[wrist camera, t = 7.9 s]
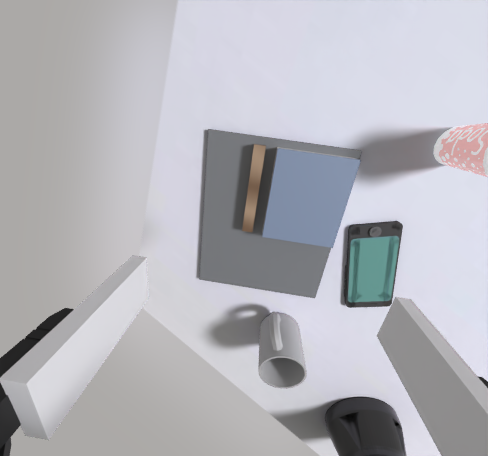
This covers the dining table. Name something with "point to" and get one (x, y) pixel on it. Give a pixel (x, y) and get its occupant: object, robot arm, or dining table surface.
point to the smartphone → (372, 263)
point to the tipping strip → (253, 187)
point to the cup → (281, 352)
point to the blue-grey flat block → (308, 196)
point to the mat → (232, 216)
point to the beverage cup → (464, 148)
